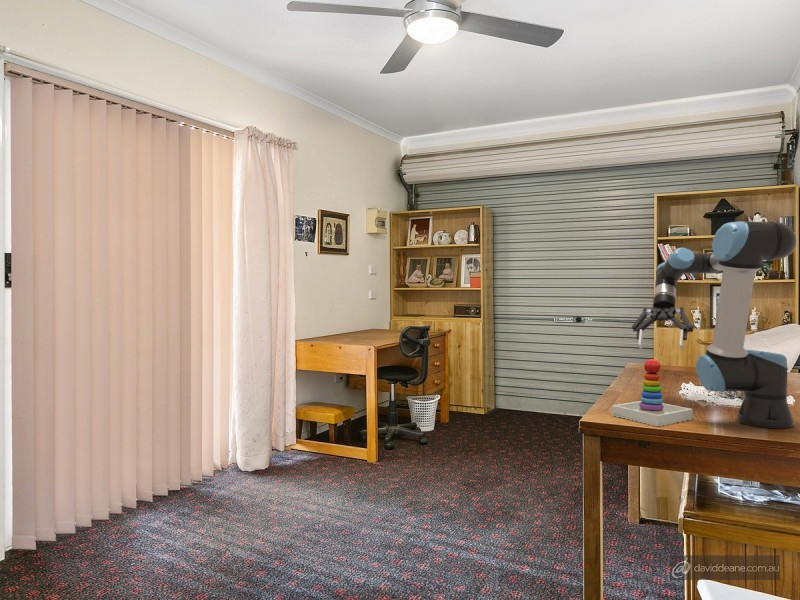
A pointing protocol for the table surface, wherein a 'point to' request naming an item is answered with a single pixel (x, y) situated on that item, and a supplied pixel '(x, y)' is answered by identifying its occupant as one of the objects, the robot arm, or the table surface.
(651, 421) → the tray
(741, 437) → the table surface
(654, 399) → the stacking toy
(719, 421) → the table surface
